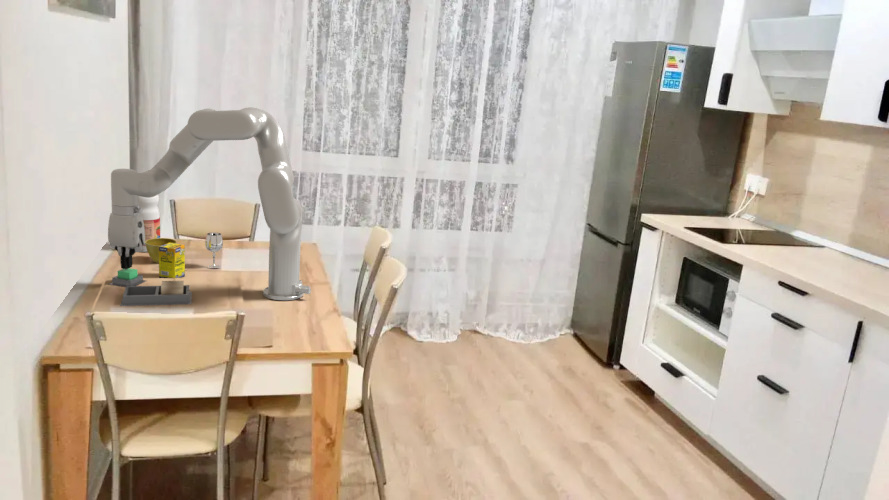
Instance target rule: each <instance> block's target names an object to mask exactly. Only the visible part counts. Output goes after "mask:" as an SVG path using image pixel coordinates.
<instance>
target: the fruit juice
mask: <svg viewBox="0 0 889 500" xmlns="http://www.w3.org/2000/svg"><path fill="white" fill-rule="evenodd" d="M159 195H160V194H158V195H156V196H154V197H149V198H148V197H142V196H139V208H141V209H142V212H141V213H139V214H140V215H142V218H143V223H144V229H145V241H147V240H149V239H155V238H161V213H160V209H159V204H160V203H159V202H160V196H159ZM142 247H143V251H141V252H140V253H148V251H147V248H146V244H145V245H142Z"/></svg>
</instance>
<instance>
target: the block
mask: <svg viewBox="0 0 889 500" xmlns="http://www.w3.org/2000/svg"><path fill="white" fill-rule="evenodd" d="M184 283H185V282H184V280H161V285H160V286H161V295H174V294H184V285H185V284H184Z"/></svg>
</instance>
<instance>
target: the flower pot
mask: <svg viewBox="0 0 889 500" xmlns="http://www.w3.org/2000/svg"><path fill="white" fill-rule="evenodd" d="M168 243H175V244H177V240H176V239H173V238H169V237H167V238H166V237H165V238H164V237H160V238H155V239H149V240H147V241H145V244H146V248H147V251H148V252H147V254H148V255H149V257H150V259H151V260H152V261H153V262H154V263H155V264H159V246H162V245H165V244H168Z"/></svg>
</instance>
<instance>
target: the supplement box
mask: <svg viewBox="0 0 889 500" xmlns="http://www.w3.org/2000/svg"><path fill="white" fill-rule="evenodd" d="M185 248H186V247H185V244H181V243H176V244H175V243H168V244H165V245H162V246H159V263H158V278H159V279H182V278H184V277H186V276H185V275H186V274H185V273H186V249H185Z"/></svg>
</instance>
